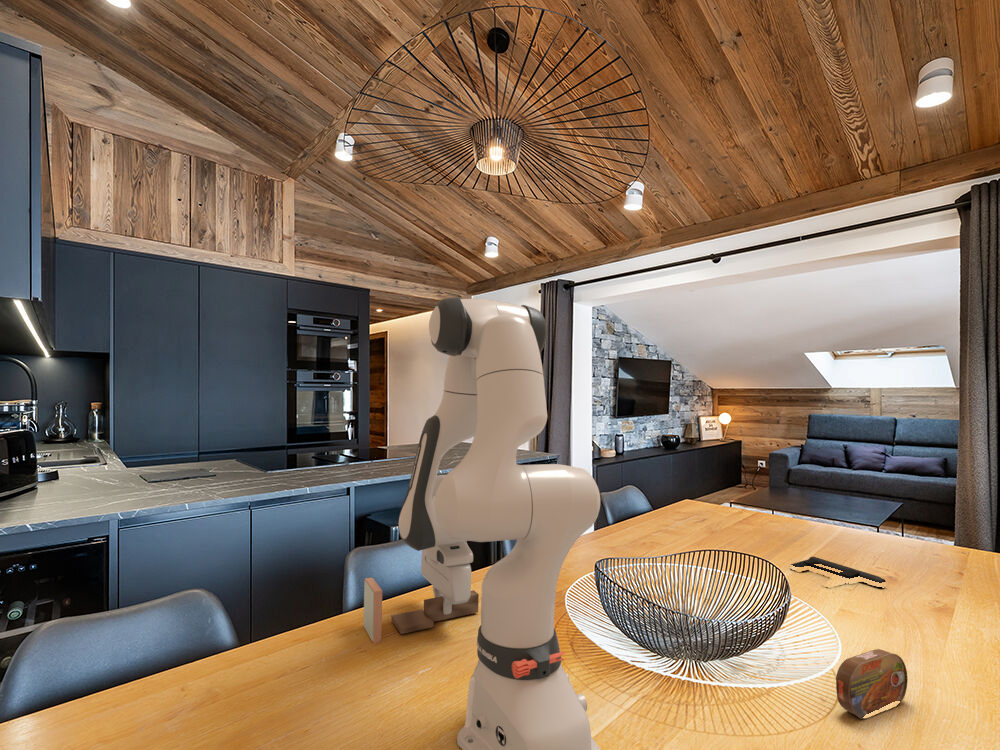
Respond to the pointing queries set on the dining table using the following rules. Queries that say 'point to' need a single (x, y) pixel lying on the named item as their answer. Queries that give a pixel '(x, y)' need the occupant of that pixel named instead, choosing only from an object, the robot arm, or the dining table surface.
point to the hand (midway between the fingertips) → (443, 609)
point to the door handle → (846, 570)
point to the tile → (372, 609)
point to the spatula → (433, 614)
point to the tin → (871, 681)
